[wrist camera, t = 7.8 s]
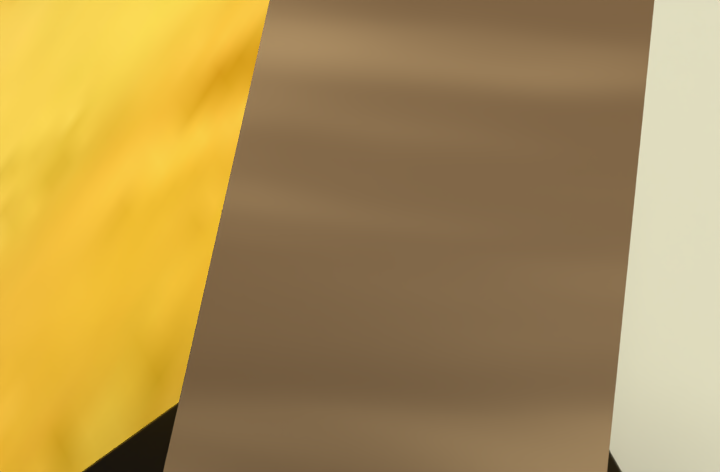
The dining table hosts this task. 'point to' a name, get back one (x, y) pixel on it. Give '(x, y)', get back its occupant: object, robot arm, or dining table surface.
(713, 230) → the mat
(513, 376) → the block
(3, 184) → the dining table surface
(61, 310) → the dining table surface
